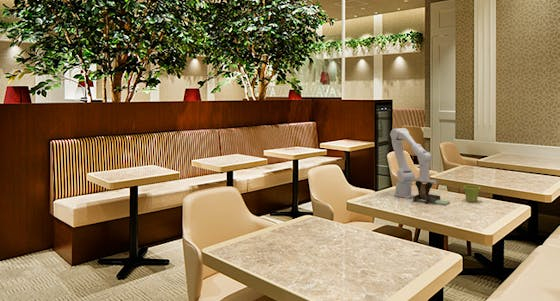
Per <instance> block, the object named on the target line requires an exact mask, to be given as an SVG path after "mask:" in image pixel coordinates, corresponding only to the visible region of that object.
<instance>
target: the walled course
mask: <svg viewBox="0 0 560 301" xmlns="http://www.w3.org/2000/svg"><path fill="white" fill-rule="evenodd" d="M412 198H413V199H412V200H413V203H415V202H417V201H419V200H425V202H424V203H425V205H427V204H430V205H431V204H432V205H436V204H435V201H437V200H441V195H439V194H438V195H437V194H431V193H429V195H427V198H420V194H419V193H417V194H415V195H414V196H413V197H412Z"/></svg>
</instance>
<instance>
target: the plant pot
mask: <svg viewBox="0 0 560 301" xmlns="http://www.w3.org/2000/svg"><path fill="white" fill-rule="evenodd" d="M463 189H464V193H465V194H464V196H465V201H467V202H468V203H477V202H478V198H479V193H480V190H481V187H480V186H477V185H464V186H463Z"/></svg>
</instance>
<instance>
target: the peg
mask: <svg viewBox="0 0 560 301" xmlns="http://www.w3.org/2000/svg"><path fill="white" fill-rule="evenodd" d="M425 184H426V183H422V184H420V198H427V195H426V185H425Z"/></svg>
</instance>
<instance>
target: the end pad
mask: <svg viewBox="0 0 560 301" xmlns="http://www.w3.org/2000/svg"><path fill="white" fill-rule="evenodd" d="M450 203H451V202H450V201H448V200H442V199H440V200H437V201H435V204H434V205H440V206H447V205H450Z"/></svg>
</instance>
